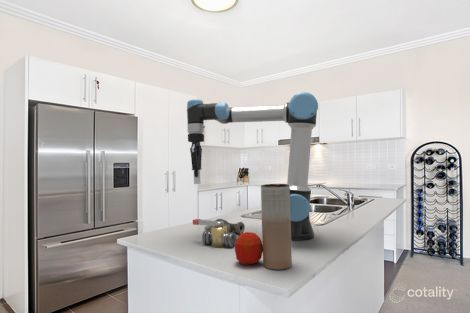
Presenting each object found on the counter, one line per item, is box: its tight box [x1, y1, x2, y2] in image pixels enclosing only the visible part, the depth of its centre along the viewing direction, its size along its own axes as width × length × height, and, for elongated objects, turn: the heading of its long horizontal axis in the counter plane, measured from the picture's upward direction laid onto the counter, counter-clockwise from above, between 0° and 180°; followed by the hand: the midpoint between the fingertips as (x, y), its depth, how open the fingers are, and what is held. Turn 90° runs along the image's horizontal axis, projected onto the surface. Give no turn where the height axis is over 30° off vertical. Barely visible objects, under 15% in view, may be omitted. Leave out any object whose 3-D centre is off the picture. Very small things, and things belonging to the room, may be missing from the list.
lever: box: [192, 218, 224, 227], centre depth 131 cm, size 15×4×2 cm, turn 60°
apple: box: [234, 231, 263, 266], centre depth 105 cm, size 10×10×12 cm
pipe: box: [204, 218, 246, 235], centre depth 147 cm, size 16×9×15 cm
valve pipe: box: [201, 226, 238, 249], centre depth 128 cm, size 14×7×8 cm, turn 62°
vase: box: [260, 183, 293, 271], centre depth 102 cm, size 10×10×28 cm
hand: (197, 183), depth 137 cm, fingers closed
